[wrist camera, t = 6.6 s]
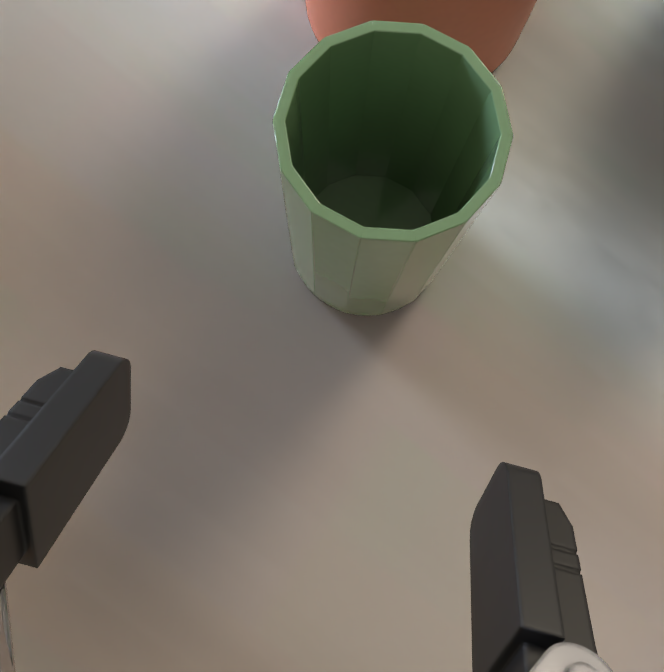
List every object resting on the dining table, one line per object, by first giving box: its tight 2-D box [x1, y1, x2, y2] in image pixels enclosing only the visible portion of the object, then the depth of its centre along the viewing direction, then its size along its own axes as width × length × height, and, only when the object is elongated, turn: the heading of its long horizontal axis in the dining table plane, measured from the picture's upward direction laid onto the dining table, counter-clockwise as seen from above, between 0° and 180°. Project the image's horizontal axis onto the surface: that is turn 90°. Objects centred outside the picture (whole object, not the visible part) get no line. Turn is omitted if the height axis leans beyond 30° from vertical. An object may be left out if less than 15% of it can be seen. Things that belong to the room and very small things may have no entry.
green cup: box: [272, 20, 513, 316], centre depth 22 cm, size 6×7×10 cm
